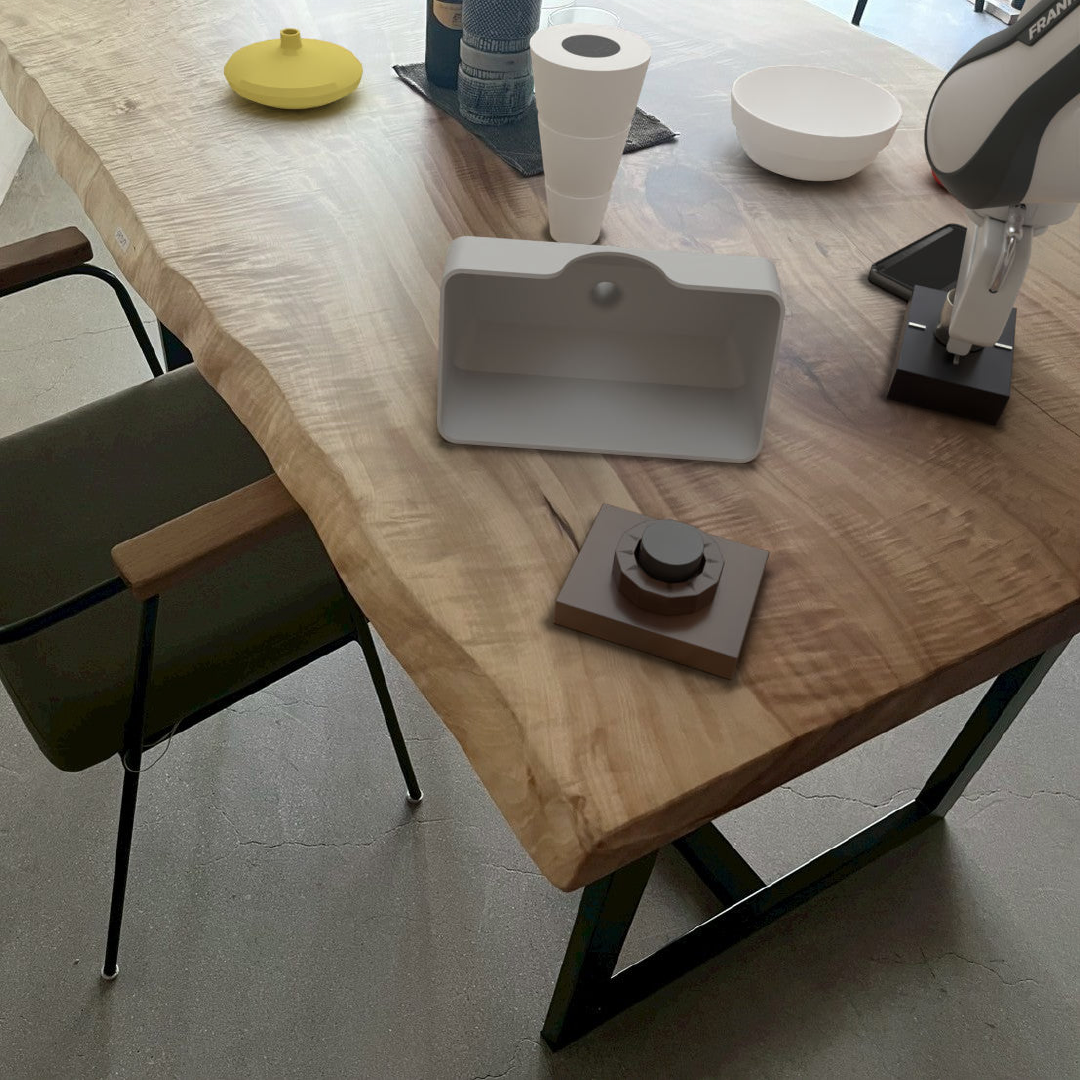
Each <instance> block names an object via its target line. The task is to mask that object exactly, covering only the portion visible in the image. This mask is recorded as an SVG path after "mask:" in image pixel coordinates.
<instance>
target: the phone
mask: <svg viewBox="0 0 1080 1080" xmlns="http://www.w3.org/2000/svg"><path fill="white" fill-rule="evenodd" d="M966 233H967V226H964V225H962V224H959V223H953V222H952V223H947V224H944V225H943V226H941V227H939V228H938V229H935V230H933V231H932V232H930V233H928V234H926V235H924V236H922V237H921V238H919V239H917V240H914V241H913V242H911V243H909V244H907V245H905V246H904V247H901V248H899V249H898V250H896V251H894V252H892V253H890V254H889V255H887V256H885V257H883V258H881V259H879V260H878V261H875V262H874V263H872V264H871V265H870V269H869V272H868V275H867V278H868V281H870V282H871V283H872V284H875V285H876V286H878V287H880V288H882V289H884V290H886V291H887V292H890V293H892V294H894V295H896V296H897V297H899V298H901V299H903V300H905V301H906V302H909V300H910V297H911V294H912V291H913V289H914V286H915V285H919V286H923V287H927V288H932V289H936V290H940V291H945V292H949V291H951V290H952V289H955V288H957V282H958V277H959V271H960V266H961V260H962V255H963V249H964V244H965V238H966Z"/></svg>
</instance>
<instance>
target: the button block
mask: <svg viewBox="0 0 1080 1080" xmlns="http://www.w3.org/2000/svg"><path fill="white" fill-rule="evenodd" d="M665 520H672V521H677V520H676V519H671V518H663V519H662V518H661V519H660V518H656V517H653V516H649V515H646V514H643V513H639V512H636V511H633V510H630V509H625V508H623V507H619V506H615V505H611V504H608V503H605V502H603V503H601V505H600V508H599V510H598V512H597V514H596V516H595V519H594V521H593V522H592V525H591V527H590V529H589V530H588V533H587V534H586V537H585V539H584V541H583V543H582V545H581V547H580V550H579V551H578V554H577V555H576V558H575V559H574V562H573V564H572V566H571V568H570V570H569V572H568V574H567V576H566V578H565V580H564V583H563V584H562V587H561V588H560V590H559V592H558V595H557V596H556V599H555V602H554V610H553V611H554V612H553V623H554V624H556V625H559V626H562V627H565V628H567V629H568V628H569V629H570V630H571V629H572V630H575V631H578V632H580V633H583V634H588V635H589V636H594V637H597V638H599V639H603V640H606V641H608V642H609V641H610V642H612V643H615V644H618V645H622V646H625V647H628V648H631V649H635V650H637V651H640V652H644V653H646V654H650V655H653V656H656V657H658V658H663V659H666V660H669V661H672V662H675V663H678V664H681V665H684V666H687V667H691V668H693V669H697V670H700V671H703V672H706V673H709V674H713V675H714V676H718V677H721V678H725V679H729V680H733V677H734V674H735V672H736V671H735V670H736V667H737V663H738V661H739V659H740V654H741V651H742V648H743V643H744V641H745V637H746V634H747V631H748V627H749V624H750V621H751V617H752V614H753V610H754V607H755V604H756V602H757V601H756V600H757V597H758V593H759V590H760V587H761V583H762V581H763V577H764V573H765V571H766V567H767V564H768V560H769V558H770V553H771V552H770V550H766V549H763V548H759V547H756V546H753V545H749V544H746V543H743V542H739V541H735V540H732V539H728V538H726V537H722V536H718V535H714V534H712V533H708V532H704V531H703V530H702V529H701V528H699V527H698V526H696V525H693V524H689V523H686V522H682V521H681V522H682V523H685V524H687V525H689V526H691V527H692V528H694V529H695V530H696V531H697V532H698V533H699V534H700V535H701V537H702V539H703V542H704V551H703V555H702V559H701V563H700V567H699V570H698V572H697V573H696V575H695V576H694V577H692V578H691V579H689V580H687V581H685V582H681V583H666V582H663V581H659V580H656V579H654V578H652V577H650V576H649V575H648V574H647V573H646V572H645V571H644V570H643V569H642V567H641V566H640V563H639V551H640V545H641V539H642V535H643V533H644V531H645V530H646V528H648V527H649V526H650V525H651V524H653V523H656V522H659V521H665Z"/></svg>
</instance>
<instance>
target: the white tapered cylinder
mask: <svg viewBox="0 0 1080 1080" xmlns="http://www.w3.org/2000/svg"><path fill="white" fill-rule="evenodd" d="M529 47H530V48H529V49H530V58H531V68H532V76H533V86H534V96H535V105H536V110H537V121H538V123H537V124H538V131H539V140H540V149H541V158H542V159H541V160H542V167H543V174H544V187H545V196H546V205H547V206H546V207H547V215H548V216H547V217H548V223H549V224H548V225H549V235H550V236H551V237H550V238H552V239H553V240H554V242H559V243H573V244H587V245H593V244H595V243H596V242H597V241H598V239H599V236H600V233H601V230H602V226H603V223H604V219H605V215H606V212H607V209H608V206H609V202H610V198H611V195H612V191H613V188H614V182H615V180H616V178H617V174H618V170H619V167H620V164H621V161H622V157H623V153H624V150H625V146H626V143H627V140H628V136H629V133H630V130H631V127H632V119H633V118H634V116H635V113H636V110H637V106H638V102H639V99H640V96H641V92H642V90H643V85H644V82H645V79H646V75H647V73H648V68H649V65H650V61H651V58H652V54H653V48H652V46H651V45H650V43H649V42H648V41H647V40H646V39H645V38H644V37H642V36H640V35H638V34H636V33H634V32H632V31H629V30H626V29H623V28H621V27H616V26H612V25H607V24H600V23H587V22H569V23H561V24H554V25H550V26H548V27H547V26H546V27H544V28H542V29H540V30H537V32H535V33H534V34H532V36H531V37H530V40H529Z"/></svg>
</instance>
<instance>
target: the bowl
mask: <svg viewBox="0 0 1080 1080" xmlns="http://www.w3.org/2000/svg"><path fill="white" fill-rule="evenodd" d="M902 108H903V107H902V106H901V103H900V102H899V100H898V98H896V97H895V96H894V95H893V94H892V93H891V92H890V91H888V90H886V89H885V88H884V87H882V86H881V85H879V84H877V83H875V82H873V81H871V80H868V79H866V78H863V77H861V76H859V75H856V74H852V73H849V72H846V71H842V70H837V69H832V68H829V67H821V66H814V65H801V64H779V65H770V66H762V67H758V68H755V69H752V70H750V71H747V72H744V73H743V74H741V75H740V76H739V77H737V78H736V80H735V81H734V82H733V84H732V86H731V91H730V117H731V121H732V124H733V125H734V127H735V133H736V137H737V140H738V141H739V144H740V146H741V147H742V149H743V151H744V152H745V154H746V155H747V157H748V158H749V159H751V160H752V161H753V162H754V163H755V164H757V165H759V166H760V167H762V168H763V169H765V170H768V171H769V172H771V173H775V174H778V175H780V176H783V177H787V178H791V179H794V180H801V181H811V182H828V181H837V180H844V179H846V178H850V177H851V176H854V175H856V174H858V173H859V172H861V171H862V170H863V169H864V168H866V167H868V166H869V165H870V164H871V163H872V162H873V161H875V159H876V158H877V156H878V155H879V153H880V152H882V151H883V150H885V148H887V147H888V146H889V144H890V141H891V140H892V138H893V136H894V134H895V132H896V131H897V129H898V126H899V125H900V122H901V120H902V117H903V109H902Z"/></svg>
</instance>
